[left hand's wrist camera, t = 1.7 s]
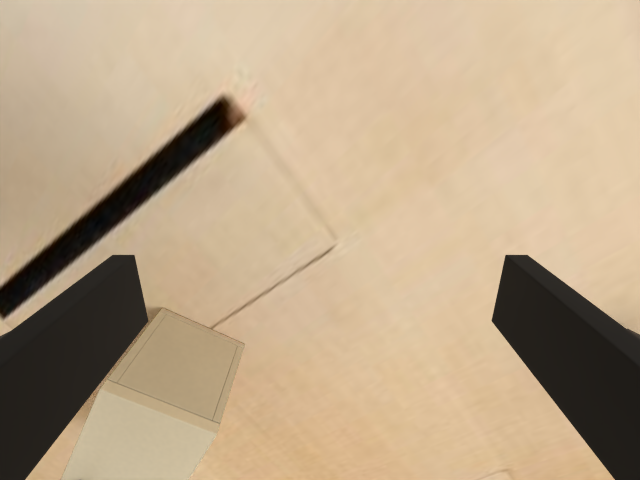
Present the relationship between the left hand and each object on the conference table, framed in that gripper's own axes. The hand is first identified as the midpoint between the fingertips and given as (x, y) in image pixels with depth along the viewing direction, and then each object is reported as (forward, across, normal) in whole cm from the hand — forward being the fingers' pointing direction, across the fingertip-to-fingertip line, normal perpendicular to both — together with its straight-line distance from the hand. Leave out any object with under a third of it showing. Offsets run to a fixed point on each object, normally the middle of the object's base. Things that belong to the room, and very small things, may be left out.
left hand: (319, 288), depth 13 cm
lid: (+9, -15, -21) cm, 27 cm away
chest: (+19, -15, -20) cm, 32 cm away
